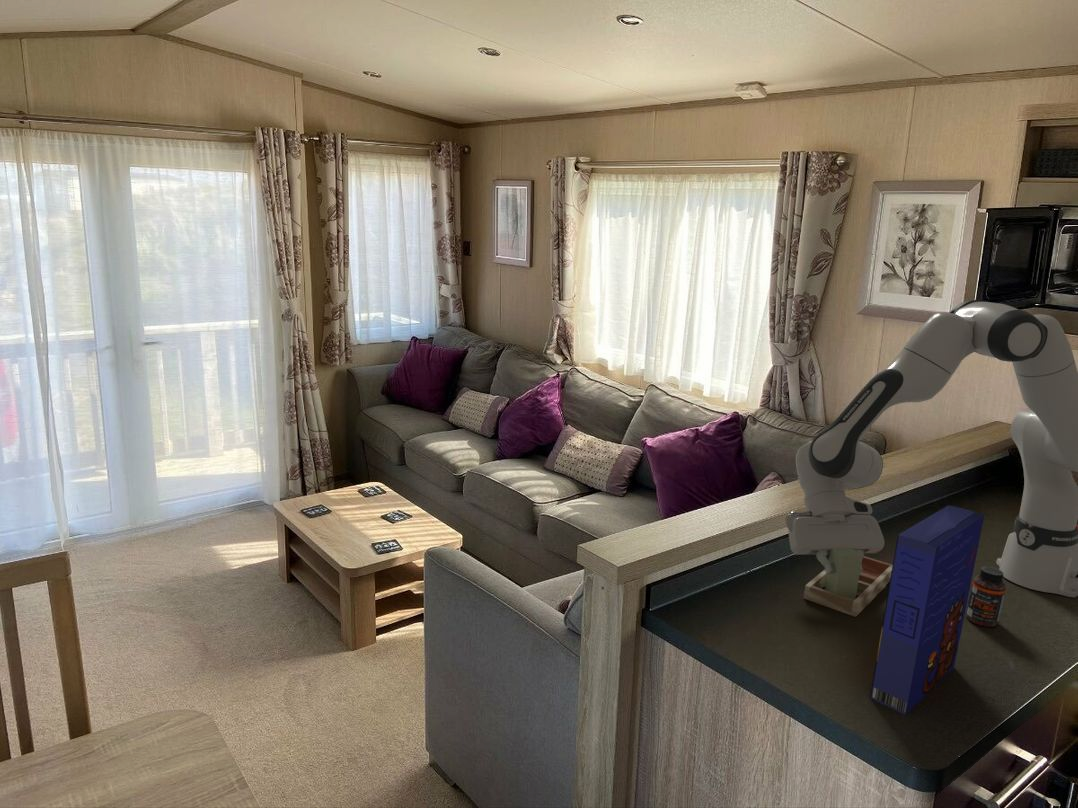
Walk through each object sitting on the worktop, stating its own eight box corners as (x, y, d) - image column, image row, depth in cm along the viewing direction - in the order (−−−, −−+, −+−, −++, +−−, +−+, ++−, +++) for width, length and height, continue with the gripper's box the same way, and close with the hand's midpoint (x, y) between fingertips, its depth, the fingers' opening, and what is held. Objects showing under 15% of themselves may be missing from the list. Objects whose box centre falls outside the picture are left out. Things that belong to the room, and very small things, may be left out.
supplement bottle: (966, 624, 163) (977, 572, 160) (963, 611, 168) (973, 561, 165) (1000, 631, 160) (1011, 579, 158) (995, 617, 166) (1006, 567, 163)
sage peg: (824, 589, 172) (830, 546, 170) (844, 589, 173) (850, 546, 170) (835, 600, 168) (841, 556, 165) (855, 599, 169) (862, 555, 166)
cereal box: (920, 653, 150) (948, 503, 143) (954, 667, 146) (984, 514, 139) (869, 698, 136) (898, 533, 128) (905, 715, 131) (936, 545, 124)
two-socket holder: (845, 562, 189) (847, 550, 188) (894, 577, 182) (896, 565, 181) (803, 598, 170) (805, 585, 169) (855, 616, 163) (857, 603, 162)
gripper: (789, 506, 171) (804, 568, 164) (878, 505, 174) (896, 566, 167) (778, 517, 177) (792, 578, 170) (864, 516, 180) (881, 576, 173)
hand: (844, 572), depth 168 cm, fingers closed on sage peg, 5 cm apart
